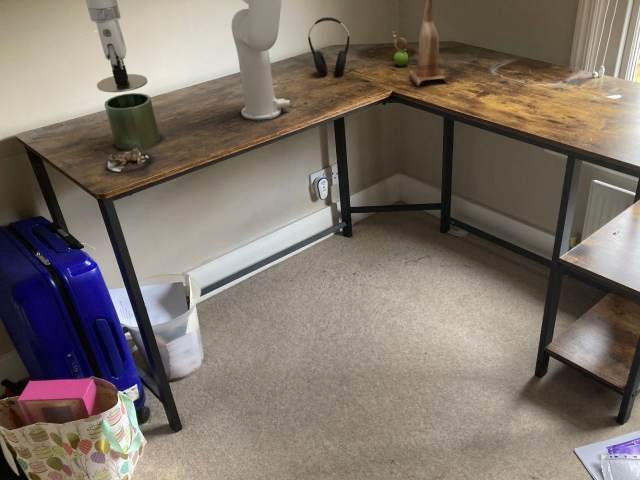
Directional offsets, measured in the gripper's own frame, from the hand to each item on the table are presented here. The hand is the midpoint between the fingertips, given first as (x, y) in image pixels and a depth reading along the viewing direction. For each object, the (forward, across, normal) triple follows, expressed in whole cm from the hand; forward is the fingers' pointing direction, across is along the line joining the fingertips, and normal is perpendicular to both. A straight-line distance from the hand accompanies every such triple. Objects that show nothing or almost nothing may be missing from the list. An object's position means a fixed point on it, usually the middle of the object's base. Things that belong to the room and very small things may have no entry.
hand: (122, 81), depth 182 cm
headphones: (+18, +41, -67) cm, 81 cm away
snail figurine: (+18, +43, -94) cm, 105 cm away
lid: (+1, 0, 0) cm, 1 cm away
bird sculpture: (+18, +24, -99) cm, 104 cm away
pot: (+18, 0, 0) cm, 18 cm away
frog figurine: (+18, -14, +2) cm, 23 cm away
